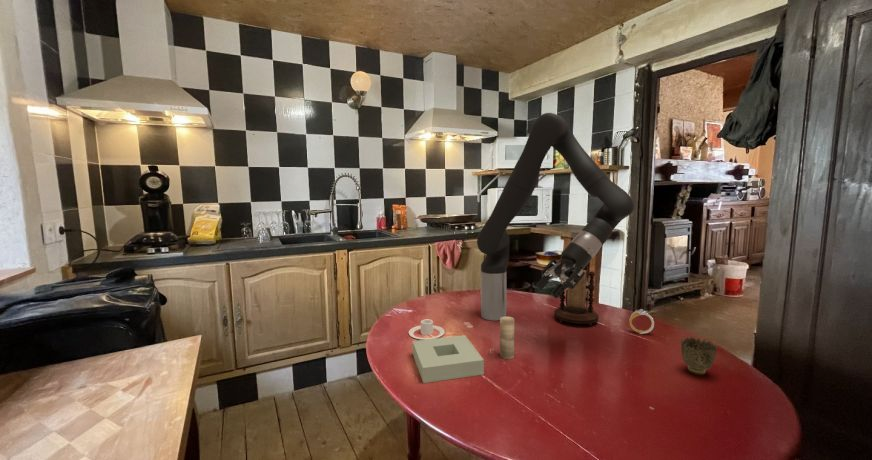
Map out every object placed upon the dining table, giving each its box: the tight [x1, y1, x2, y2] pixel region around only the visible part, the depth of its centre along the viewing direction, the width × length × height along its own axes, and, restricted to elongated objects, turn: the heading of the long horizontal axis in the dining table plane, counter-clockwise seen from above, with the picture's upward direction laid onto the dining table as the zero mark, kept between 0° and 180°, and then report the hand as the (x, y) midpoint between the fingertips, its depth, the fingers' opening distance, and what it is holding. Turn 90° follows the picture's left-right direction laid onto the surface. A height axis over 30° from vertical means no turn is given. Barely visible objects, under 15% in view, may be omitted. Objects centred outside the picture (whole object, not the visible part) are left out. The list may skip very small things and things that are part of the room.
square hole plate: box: [411, 334, 485, 384], centre depth 100 cm, size 16×16×4 cm
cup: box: [680, 336, 718, 376], centre depth 93 cm, size 8×7×8 cm
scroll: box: [553, 265, 599, 327], centre depth 129 cm, size 15×15×20 cm
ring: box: [628, 308, 655, 335], centre depth 117 cm, size 7×3×8 cm, turn 61°
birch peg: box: [499, 315, 515, 360], centre depth 104 cm, size 4×4×11 cm
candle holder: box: [408, 318, 445, 340], centre depth 121 cm, size 12×12×4 cm
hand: (545, 292), depth 104 cm, fingers open, 8 cm apart
